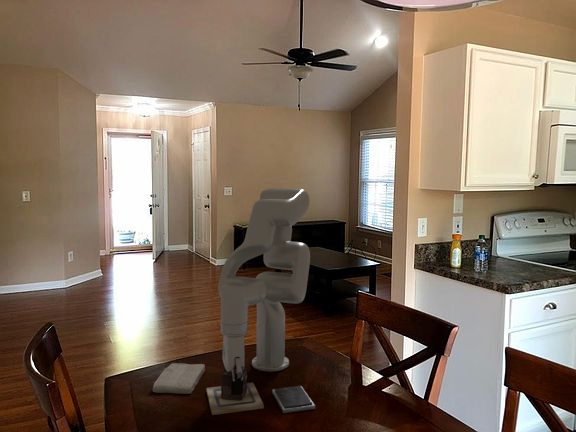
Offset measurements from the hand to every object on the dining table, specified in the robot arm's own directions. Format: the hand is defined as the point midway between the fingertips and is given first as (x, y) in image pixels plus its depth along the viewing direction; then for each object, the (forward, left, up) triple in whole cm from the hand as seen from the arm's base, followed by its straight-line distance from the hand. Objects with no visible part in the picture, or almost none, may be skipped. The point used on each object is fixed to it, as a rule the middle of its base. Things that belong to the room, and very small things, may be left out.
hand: (234, 386), depth 128 cm
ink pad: (+5, +16, -4) cm, 17 cm away
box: (0, 0, -3) cm, 3 cm away
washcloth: (-16, -14, -5) cm, 22 cm away
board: (0, 0, -4) cm, 4 cm away
